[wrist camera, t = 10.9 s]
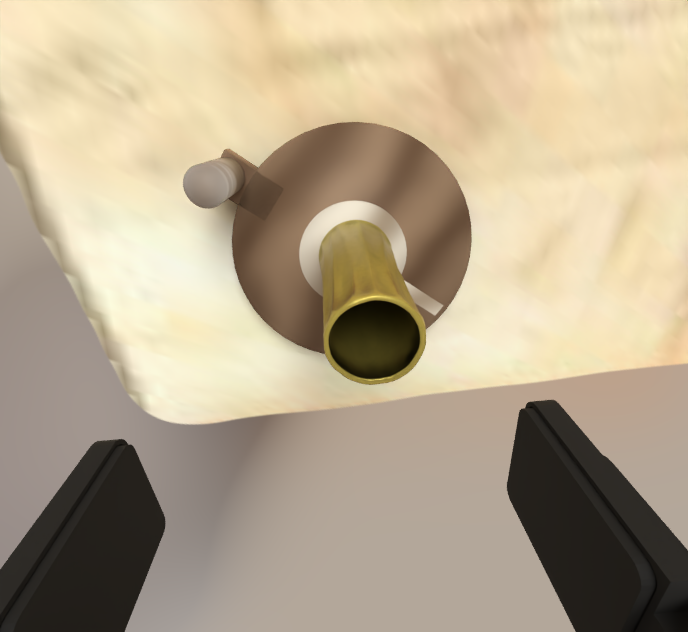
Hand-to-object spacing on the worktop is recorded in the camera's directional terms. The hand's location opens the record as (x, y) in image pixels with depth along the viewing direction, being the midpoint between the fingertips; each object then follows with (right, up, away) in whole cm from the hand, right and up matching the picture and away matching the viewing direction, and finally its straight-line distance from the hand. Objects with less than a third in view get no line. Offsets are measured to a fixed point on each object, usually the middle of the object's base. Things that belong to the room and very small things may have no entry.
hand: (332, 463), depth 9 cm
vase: (+1, +9, +22) cm, 24 cm away
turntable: (0, +10, +24) cm, 25 cm away
